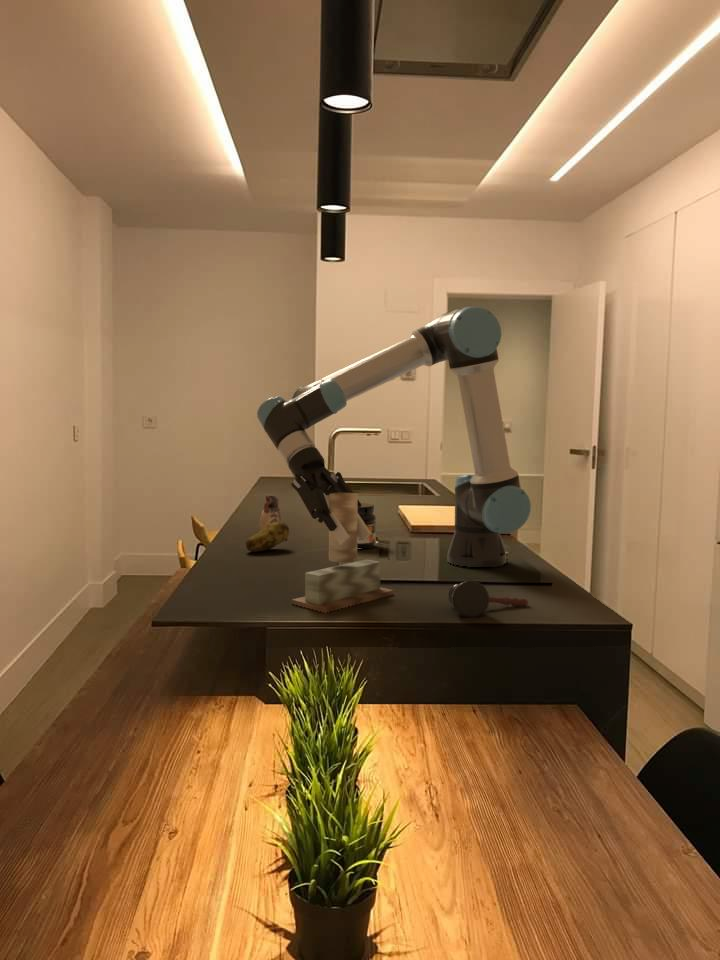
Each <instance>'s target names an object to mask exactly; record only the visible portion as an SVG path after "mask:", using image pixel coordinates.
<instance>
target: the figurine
mask: <svg viewBox="0 0 720 960" xmlns="http://www.w3.org/2000/svg"><path fill="white" fill-rule="evenodd" d="M264 498H265V502H264V505H263V509H262V511H261V514H260V520H259V525H258V526H259V527H258V528H259V531H260V530H261V529H263V528H264V527H265V526H266V525H268V524H270V523H271V522H275V521H280V522H282V517H281V513H280V511H281V508H280V507H279V498H278V497H277V496H275V494H267V495H265V496H264Z"/></svg>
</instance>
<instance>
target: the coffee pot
mask: <svg viewBox="0 0 720 960" xmlns="http://www.w3.org/2000/svg"><path fill="white" fill-rule="evenodd" d="M448 601H449V603H450V604H451V605H452V606H453V609H454V611H456V613H457V614H458V615H459V616H460V617H462V618H465V619H475V618H479V617H481V616H482V615H484V614H485V613H486V611H487V609H488V608H489V603H495V604H496V603H497V604H501V605H505V606H509V605H511V606H512V607H525V608H527V607H528V605H529V602H528V601H529V600H528V598H527V597H525V598H522V597H519V598H517V597H512V598H511V597H509V596H505V597H503V596H502V597H493V596H490V594H489V591H488V590H487V588H486V587H485V586H484V585H483V584H482V583H481V582H480V581H479V582H478V581H475V580H466V581H463V582H461V583H456V584H454V585H453V586H452V587H450V589H449V592H448Z"/></svg>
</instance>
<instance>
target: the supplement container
mask: <svg viewBox="0 0 720 960" xmlns="http://www.w3.org/2000/svg"><path fill="white" fill-rule="evenodd" d="M360 503H361V505H362V506H361V507H360V508H359V509H358V512H359V514H360V515H361V517H362V518H363V520H364V523H365V525H366V526H367V528H368V529H369V531H370V532H371V534H370V535H369V536H368V537H367V539H366V540H365V541H362V540H361V539H360V537H359V536H358V534H357V548H369V549H372V548H374V547H376V544H377V539H376V537H377V536H376V535H377V534H376V533H377V531H376V529H377V526H376V525H377V516H376V515H375V505H374V504H373V503H368V502H367V503H366V502H360ZM371 547H372V548H371Z"/></svg>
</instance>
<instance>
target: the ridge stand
mask: <svg viewBox="0 0 720 960" xmlns="http://www.w3.org/2000/svg"><path fill="white" fill-rule="evenodd" d="M304 582H305V583H304V592H305V593H304V596H301V597H297V598H291V599H292V600H291V605H292V604H294V605H293V606H296V605H298V607H300V606H302V608H304V607H305V609H308V608H309V609H308V610H312V609H313V610H312V611H316V610H317V612H320V611H321V612H320V613H323V614H327V612H328V613H331V612H330V611H332V612H335V611H338V609H339V610H342V609H341V608H343V609H346V608H349V607H348V606H350V607H352V605H353V606H356V605H355V604H357V605H360V603H361V604H364V603H368V602H372V601H374V600H379V599H381V598H386V597H390V596H392V595H394V589H391V588H385V587H381V561H376V560H372V559H361V560H356V561H354V562H347V563H343V564H339V565H334V566H330V567H326V568H321V569H316V570H311V571H306V572H304ZM345 607H346V608H345ZM334 610H335V611H334Z"/></svg>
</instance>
